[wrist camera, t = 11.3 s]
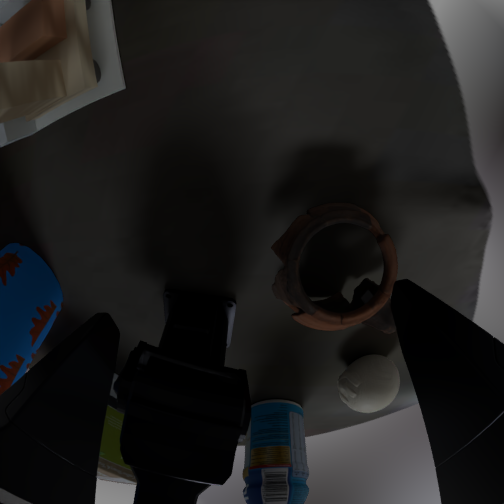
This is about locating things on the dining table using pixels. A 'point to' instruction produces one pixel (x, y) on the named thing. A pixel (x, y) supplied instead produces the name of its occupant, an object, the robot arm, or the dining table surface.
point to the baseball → (369, 383)
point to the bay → (103, 52)
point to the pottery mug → (337, 307)
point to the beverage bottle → (275, 454)
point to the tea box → (113, 446)
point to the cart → (45, 58)
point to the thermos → (24, 309)
